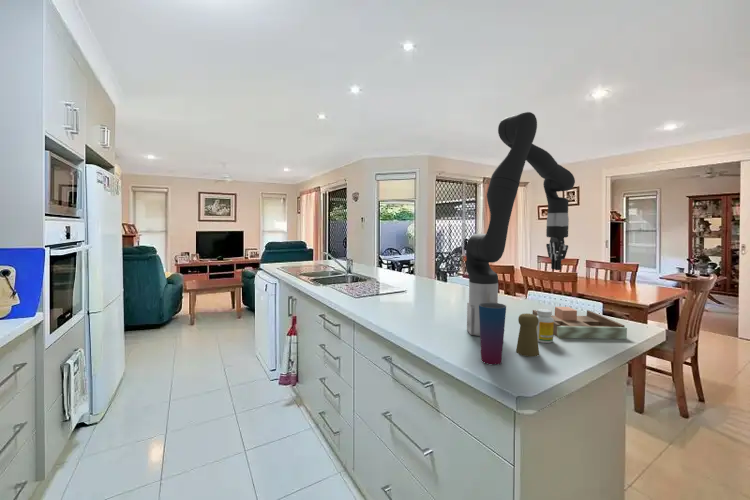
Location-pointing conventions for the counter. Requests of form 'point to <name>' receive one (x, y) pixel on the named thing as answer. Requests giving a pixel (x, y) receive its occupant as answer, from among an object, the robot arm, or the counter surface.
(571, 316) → the block
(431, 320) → the counter surface
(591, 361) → the counter surface
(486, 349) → the cup
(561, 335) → the square tray
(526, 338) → the cork
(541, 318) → the supplement bottle
